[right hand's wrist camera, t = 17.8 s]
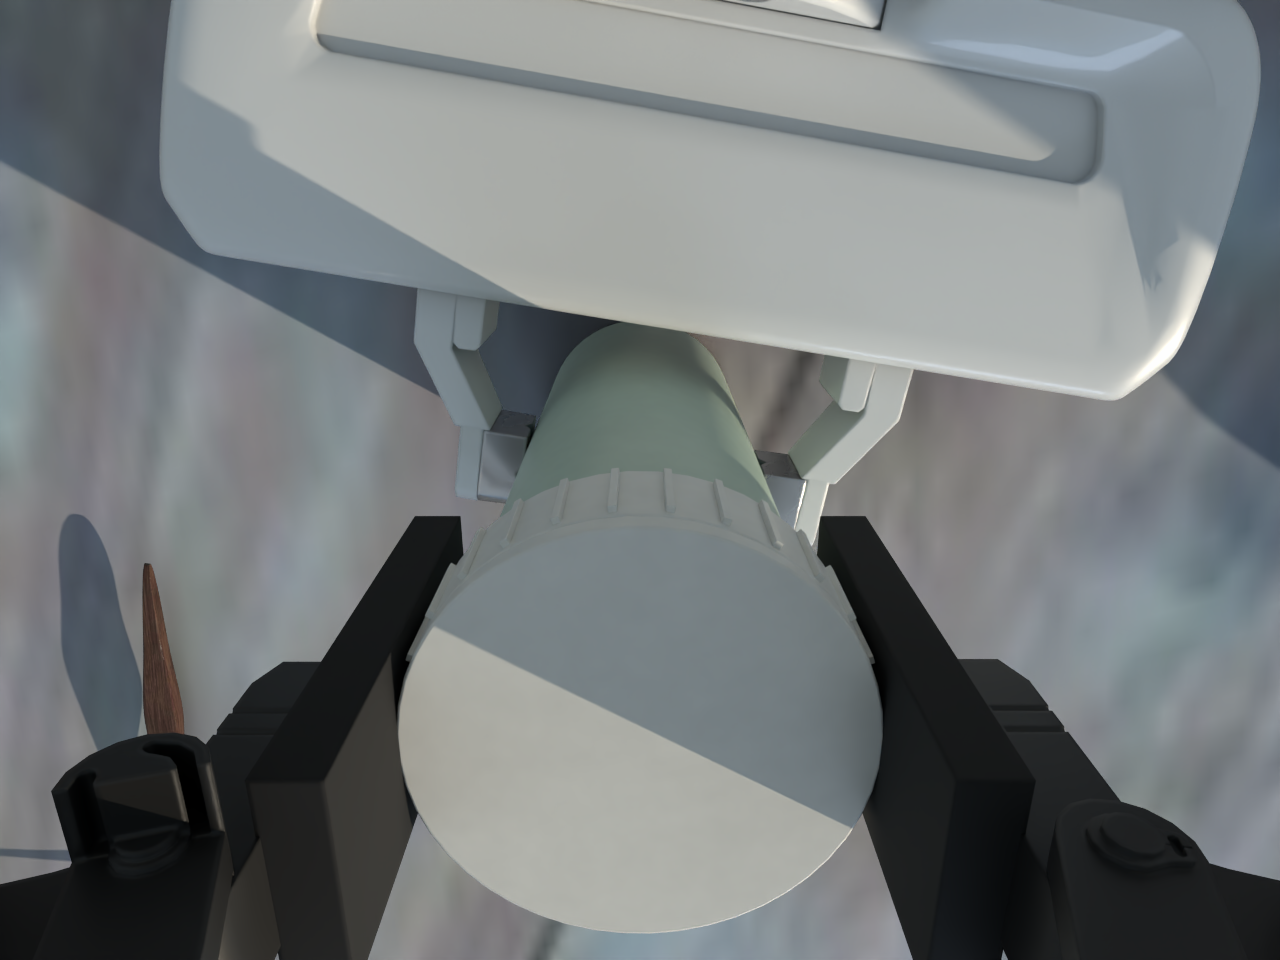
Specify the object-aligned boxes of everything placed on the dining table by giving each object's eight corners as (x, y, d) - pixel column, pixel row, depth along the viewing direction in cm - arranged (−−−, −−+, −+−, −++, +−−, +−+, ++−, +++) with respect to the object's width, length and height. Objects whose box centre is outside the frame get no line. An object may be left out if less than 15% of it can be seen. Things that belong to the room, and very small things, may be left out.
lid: (344, 575, 12) (292, 647, 10) (753, 388, 11) (776, 433, 9) (549, 885, 14) (535, 993, 12) (912, 749, 13) (956, 844, 11)
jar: (742, 331, 25) (884, 558, 10) (714, 501, 27) (801, 893, 12) (559, 308, 25) (446, 507, 10) (543, 481, 26) (427, 856, 12)
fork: (198, 560, 27) (165, 589, 25) (229, 938, 32) (204, 986, 31) (114, 552, 27) (75, 581, 25) (159, 933, 32) (130, 980, 30)
